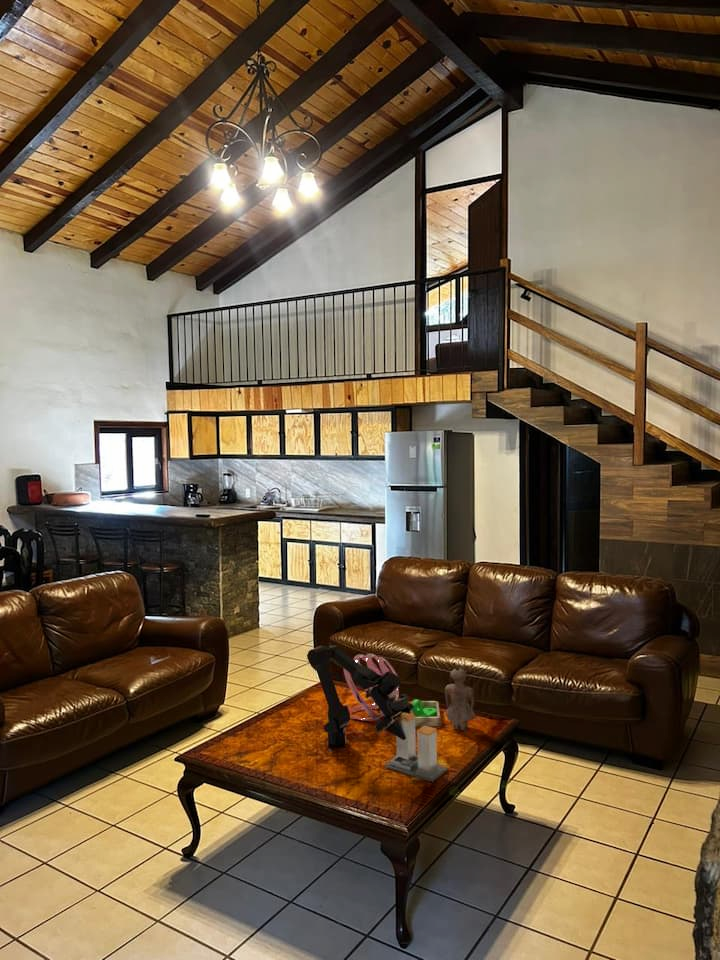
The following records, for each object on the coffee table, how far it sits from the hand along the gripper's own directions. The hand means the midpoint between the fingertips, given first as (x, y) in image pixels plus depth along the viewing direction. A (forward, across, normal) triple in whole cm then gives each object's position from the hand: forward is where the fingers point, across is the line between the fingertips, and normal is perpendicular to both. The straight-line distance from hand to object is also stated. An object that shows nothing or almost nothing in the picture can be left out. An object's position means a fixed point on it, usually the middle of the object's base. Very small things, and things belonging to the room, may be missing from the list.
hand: (408, 736), depth 258 cm
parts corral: (-5, +41, +21) cm, 47 cm away
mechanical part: (-5, +43, +22) cm, 48 cm away
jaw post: (+4, 0, +6) cm, 8 cm away
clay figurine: (+8, +40, +9) cm, 41 cm away
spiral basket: (-19, +30, +36) cm, 51 cm away
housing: (+10, 0, +6) cm, 12 cm away
